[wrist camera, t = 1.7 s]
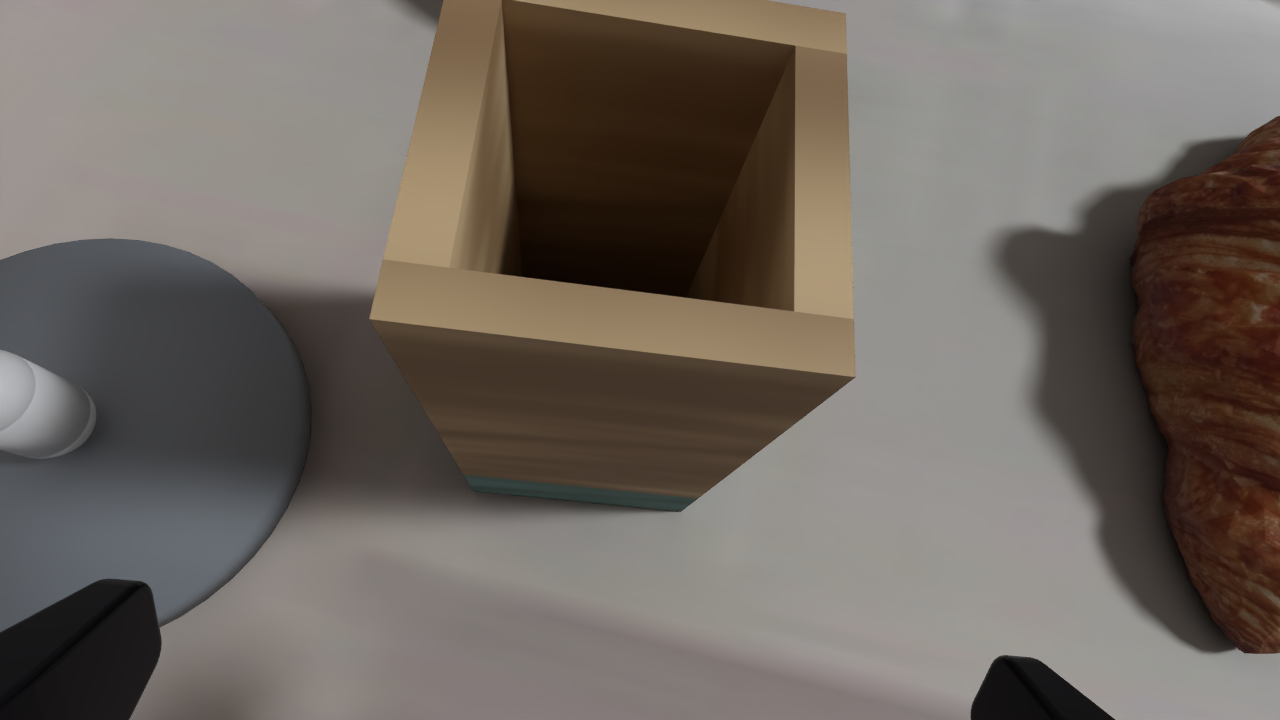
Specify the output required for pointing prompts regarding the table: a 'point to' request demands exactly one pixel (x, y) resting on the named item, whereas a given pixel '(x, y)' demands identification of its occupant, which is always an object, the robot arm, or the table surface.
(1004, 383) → the table surface
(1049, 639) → the table surface
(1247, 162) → the pastry
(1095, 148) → the table surface
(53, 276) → the pin stand
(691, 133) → the banded sleeve
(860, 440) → the table surface
